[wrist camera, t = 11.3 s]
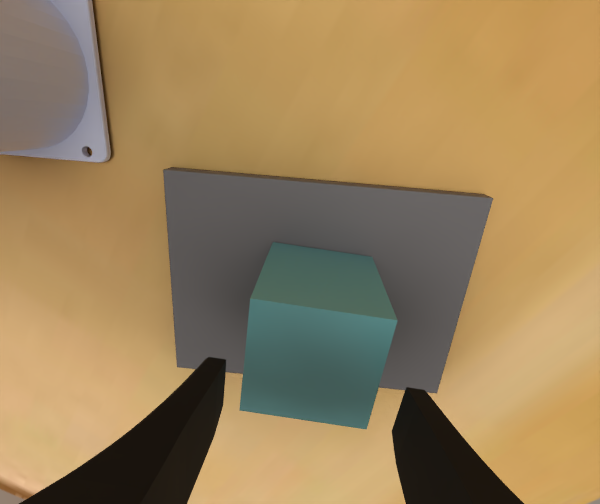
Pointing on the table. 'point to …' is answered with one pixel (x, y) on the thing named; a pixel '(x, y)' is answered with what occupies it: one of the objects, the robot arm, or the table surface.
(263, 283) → the teal square block
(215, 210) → the pin stand
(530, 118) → the table surface
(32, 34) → the robot arm
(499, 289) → the table surface
